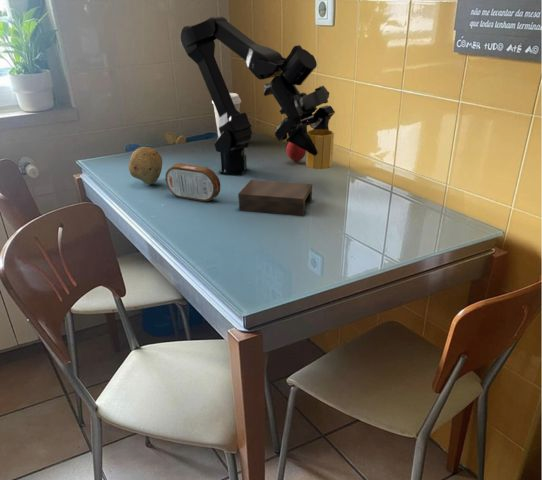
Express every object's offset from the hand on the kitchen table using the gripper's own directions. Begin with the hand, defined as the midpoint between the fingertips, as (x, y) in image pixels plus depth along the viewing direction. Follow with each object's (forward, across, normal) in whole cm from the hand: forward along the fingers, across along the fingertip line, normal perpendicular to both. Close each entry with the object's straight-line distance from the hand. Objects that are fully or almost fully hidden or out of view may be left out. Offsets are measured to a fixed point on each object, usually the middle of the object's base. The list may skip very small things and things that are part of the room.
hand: (324, 151), depth 135 cm
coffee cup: (-30, +22, +46) cm, 59 cm away
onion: (-8, +18, +23) cm, 30 cm away
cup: (+2, 0, +4) cm, 4 cm away
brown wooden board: (+5, -14, +11) cm, 18 cm away
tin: (-9, -23, +25) cm, 35 cm away
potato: (-22, -22, +38) cm, 50 cm away
